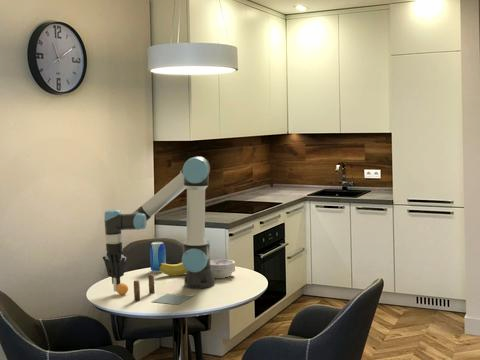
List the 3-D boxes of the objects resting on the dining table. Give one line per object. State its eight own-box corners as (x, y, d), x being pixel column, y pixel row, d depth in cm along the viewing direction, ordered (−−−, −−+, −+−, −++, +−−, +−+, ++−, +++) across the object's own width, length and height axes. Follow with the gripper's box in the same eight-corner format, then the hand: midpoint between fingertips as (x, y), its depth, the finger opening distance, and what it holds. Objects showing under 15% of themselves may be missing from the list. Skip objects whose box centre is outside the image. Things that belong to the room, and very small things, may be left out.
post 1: (141, 299, 278) (140, 280, 277) (138, 301, 275) (137, 282, 275) (136, 299, 279) (135, 280, 278) (133, 300, 276) (132, 281, 276)
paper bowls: (227, 271, 328) (227, 257, 327) (240, 277, 314) (240, 262, 314) (202, 275, 321) (201, 261, 320) (214, 281, 307) (213, 266, 307)
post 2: (155, 292, 289) (154, 274, 288) (152, 294, 287) (151, 275, 286) (151, 292, 290) (150, 274, 290) (148, 293, 288) (147, 275, 287)
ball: (123, 294, 291) (131, 291, 289) (116, 297, 286) (125, 294, 284) (119, 283, 291) (127, 280, 289) (112, 286, 286) (121, 283, 284)
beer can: (163, 273, 329) (162, 244, 328) (148, 273, 331) (147, 244, 330) (168, 269, 337) (166, 241, 336) (153, 269, 339) (152, 241, 338)
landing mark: (193, 296, 280) (193, 296, 280) (178, 304, 268) (178, 304, 268) (167, 294, 286) (167, 293, 286) (151, 302, 273) (151, 301, 273)
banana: (160, 278, 318) (158, 240, 317) (158, 275, 324) (156, 239, 322) (201, 274, 324) (200, 237, 323) (199, 271, 330) (198, 235, 328)
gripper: (129, 241, 288) (132, 289, 290) (107, 240, 293) (110, 287, 295) (120, 244, 281) (123, 293, 283) (98, 243, 287) (100, 291, 289)
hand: (116, 290), depth 289 cm, fingers closed
